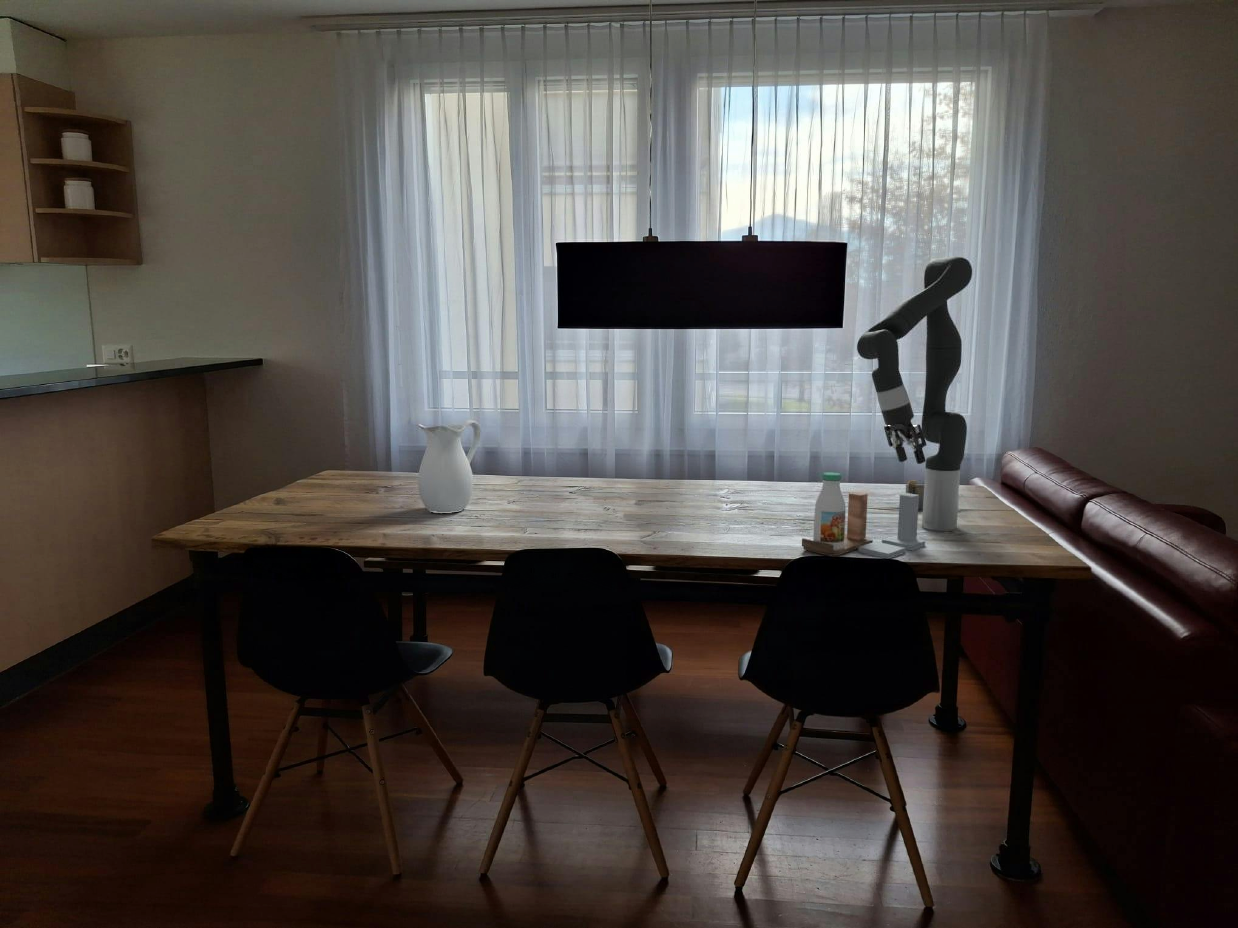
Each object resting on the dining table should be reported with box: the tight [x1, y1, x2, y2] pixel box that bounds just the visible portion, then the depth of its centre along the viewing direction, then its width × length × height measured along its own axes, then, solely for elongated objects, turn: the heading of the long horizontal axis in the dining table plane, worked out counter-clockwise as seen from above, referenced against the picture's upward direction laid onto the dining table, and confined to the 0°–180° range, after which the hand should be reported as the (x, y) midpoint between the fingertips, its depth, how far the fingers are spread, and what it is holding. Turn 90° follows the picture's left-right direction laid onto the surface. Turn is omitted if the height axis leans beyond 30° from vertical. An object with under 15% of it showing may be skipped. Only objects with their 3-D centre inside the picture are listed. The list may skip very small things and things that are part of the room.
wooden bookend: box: [801, 491, 874, 557], centre depth 219 cm, size 20×9×13 cm, turn 132°
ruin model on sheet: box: [905, 479, 924, 509], centre depth 265 cm, size 11×3×10 cm, turn 86°
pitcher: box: [417, 419, 482, 512], centre depth 264 cm, size 24×17×28 cm
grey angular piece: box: [858, 492, 926, 559], centre depth 218 cm, size 18×8×13 cm, turn 132°
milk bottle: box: [812, 471, 846, 550], centre depth 216 cm, size 8×8×20 cm
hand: (912, 461), depth 223 cm, fingers open, 8 cm apart
